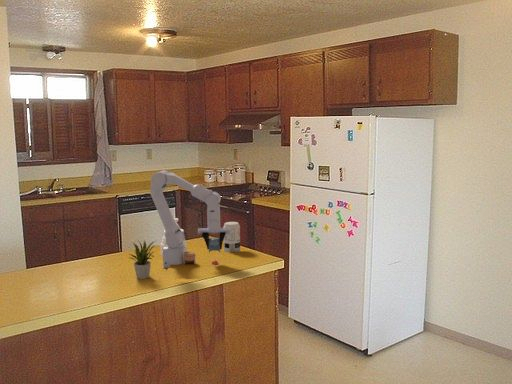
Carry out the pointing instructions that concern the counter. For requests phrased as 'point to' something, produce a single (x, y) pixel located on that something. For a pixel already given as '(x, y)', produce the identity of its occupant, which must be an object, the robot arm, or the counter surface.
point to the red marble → (214, 262)
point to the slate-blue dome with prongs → (214, 244)
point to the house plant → (142, 260)
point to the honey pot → (165, 239)
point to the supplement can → (232, 237)
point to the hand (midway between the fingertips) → (214, 248)
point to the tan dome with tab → (189, 258)
